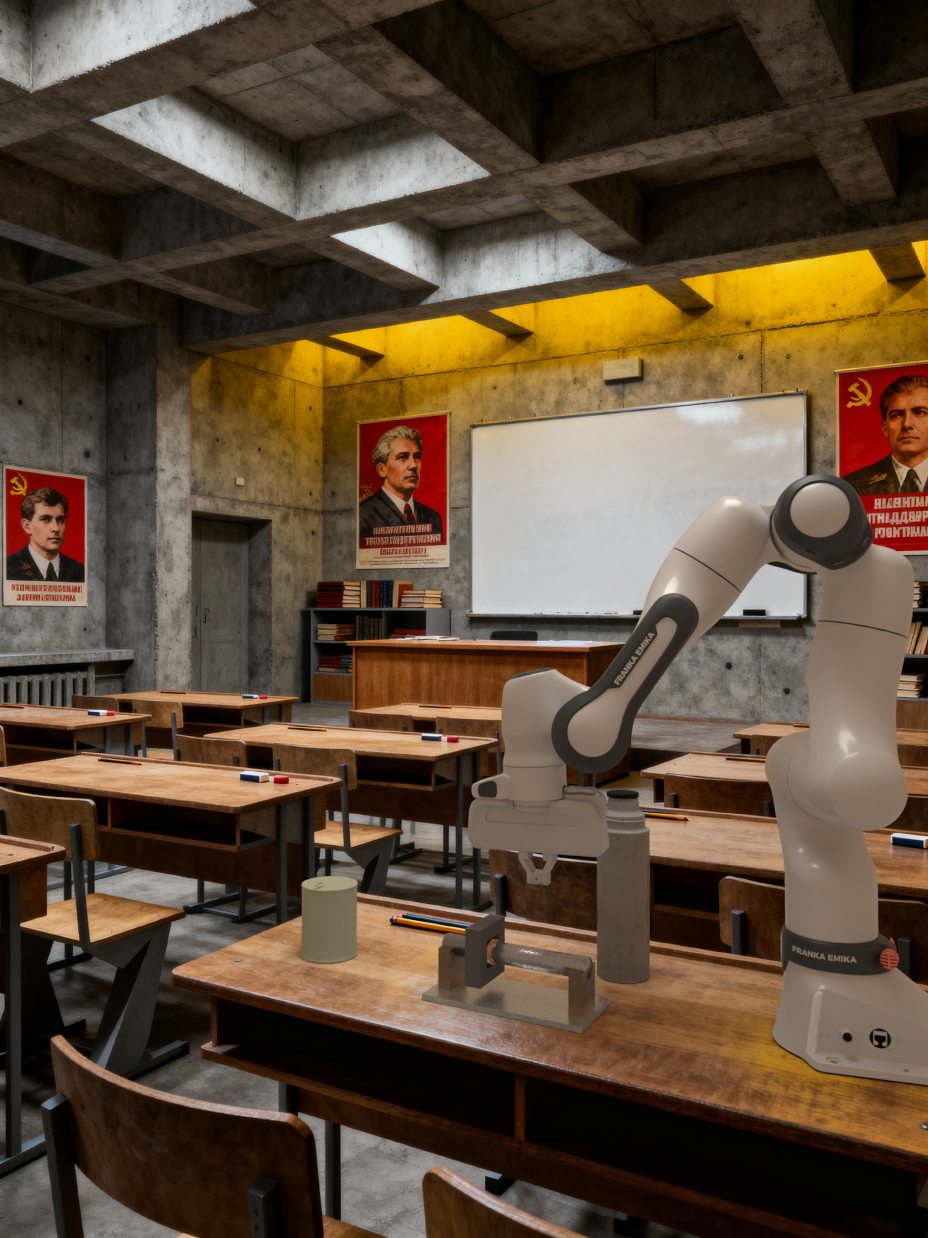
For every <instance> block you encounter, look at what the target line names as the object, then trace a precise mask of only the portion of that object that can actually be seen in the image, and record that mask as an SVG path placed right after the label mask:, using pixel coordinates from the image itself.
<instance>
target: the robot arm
mask: <svg viewBox="0 0 928 1238" xmlns="http://www.w3.org/2000/svg"><path fill="white" fill-rule="evenodd" d="M874 539H875V534H874V530H873V528H872V525H871V523H870V520H869V518H868V514H867V512H866V508H865V506H864V503H863V501H862V499H861V497H860V495H859V494H858V492H857V491H856V490H855V488H854V487H853V486H852V484H850V483H849V482H847V481H846V480H845V479H843V478H841V477H838V476H836V475H833V474H830V473H828V474H827V473H813V474H810V475H805V476H803V477H800V478H799V479H796V480H795V481H793V482H792V483H790V484H789V485H788V486H787V487H786V488H785V489H784V490H783V491H782V492H781V494H780V495H779V497H777V500H776V503H775V504H772V505H762V504H758V503H757V502H755V501H754V500H752V499H751V498H750V499H749V498H747V497H745V496H741V495H733V494H728V495H722V496H721V497H719V498H717V499H715V500H714V501H712V503H711V504H710V505H709V506H708V507H706V509H704V511H702V512H701V513H700V515H698V516H697V518H696V519H694V521H693V522H692V523H691V524H690V526H689V527H687V529H686V530H685V531H684V532H683V534H682V535H681V536H680V537H679V539H678V540H677V541H676V543H675V544H674V546H673V548H671V549H670V551H669V553H668V554H667V556H666V557H665V558H664V560H663V562H662V563H661V565H660V567H659V569H658V571H657V572H656V574H655V576H654V578H653V581H652V583H651V585H650V587H649V589H648V592H647V595H646V598H645V602H644V605H643V607H642V608H643V609H642V611H641V614H640V617H639V620H638V622H637V623H636V626H635V628H634V629H633V631H632V633H631V634H630V636H629V638H628V639H627V640H626V642H625V643H624V645H623V646H622V647H621V648H620V650H619V652H618V653H617V654H616V656H615V657H614V658H613V660H612V662H611V663H610V664H609V666H608V667H607V668H606V670H605V671H604V672H603V674H601V676H600V677H599V678H598V680H596V682H595V683H594V684H593V685H592V686H587V685H586V684H585V685H584V684H582V683H579V682H577V681H575V680H573V679H571V678H569V677H568V676H565V675H564V674H562V673H561V672H559V670H557V669H556V668H552V667H544V668H538V669H534V670H529V671H523V672H520V673H516V674H514V675H513V676H511V677H509V678H508V680H507V681H506V682H505V683H504V686H503V690H502V695H501V696H502V697H501V708H500V709H501V711H500V712H501V713H500V714H501V715H500V716H501V717H500V718H501V735H502V739H503V741H504V742H503V743H504V755H503V758H502V759H503V760H502V772H499V773H496V774H493V775H492V776H490V777H486V778H484V779H481V780H479V781H477V782H475V783H473V784H472V786H471V795H472V797H473V798H475V799H474V800H472V802H471V804H470V806H469V809H468V822H467V825H468V826H467V827H468V828H467V831H468V832H467V833H468V834H467V835H468V836H467V837H468V841H469V843H470V844H471V845H472V847H473V848H474V849H482V850H483V849H485V850H497V851H508V852H509V851H511V852H517V853H518V860H519V862H520V864H521V866H522V868H523V869H524V870H525V872H526V883H527V884H528V885H538V886H549V885H550V884H551V883H552V880H551V878H552V876H551V875H552V874H551V873H552V872H551V871H552V870H553V868H554V866H555V864H556V863H557V860H558V857H559V856H558V855H561V856H562V855H563V856H577V857H579V856H580V857H588V858H589V857H590V858H597V857H598V856H600V855H602V854H603V853H605V852H606V850H607V849H608V847H609V835H608V827H607V822H606V815H607V800H608V799H607V796H605V794H604V793H603V792H602V791H600V790H598V789H597V788H596V787H594V786H578V785H567V766H568V767H569V768H571V769H573V770H575V771H577V772H580V773H583V774H601V773H604V772H607V771H610V770H611V769H613V768H615V767H616V766H617V765H618V764H619V763H620V762H621V761H622V760H623V759H624V758H625V755H626V754H627V752H628V750H629V747H630V744H631V739H632V733H633V727H634V723H635V719H636V718H637V714H638V713H639V711H640V710H641V707H642V706H643V704H644V703H645V701H646V700H647V699H648V697H649V695H651V693H652V691H653V690H654V689H655V687H656V686H657V684H658V683H659V681H660V680H661V679H662V677H663V676H664V674H665V673H666V671H667V670H668V669H669V667H670V666H671V664H672V663H673V662H674V661H675V660H676V658H677V657H679V655H680V654H681V653H682V652H683V651H684V650H685V649H686V648H687V647H689V646H690V645H692V643H694V642H695V641H696V640H698V639H700V637H702V636H703V635H704V634H706V633H707V632H708V631H709V630H710V629H712V627H713V626H715V624H717V622H719V620H721V619H722V618H723V617H724V616H725V614H726V613H727V612H728V611H729V610H730V609H731V608H732V606H733V605H734V604H735V603H736V602H737V600H738V598H739V597H740V596H741V594H742V593H743V591H744V590H745V589H746V587H747V586H748V585H749V583H750V582H751V580H752V579H753V578H754V576H755V575H756V574H757V573H758V571H760V570H761V568H763V567H764V566H765V565H769V566H772V567H775V568H779V569H783V570H786V571H790V572H792V573H796V574H801V575H809V576H811V575H812V576H813V575H816V576H817V575H818V576H819V579H820V581H821V586H822V597H821V603H820V608H819V613H818V616H817V620H816V625H815V629H814V630H815V631H814V634H813V639H812V642H811V647H810V652H809V656H808V661H807V667H806V671H805V676H804V684H805V689H806V691H807V694H808V695H807V696H808V703H809V708H808V709H809V730H801V731H797V732H792V733H791V734H787V735H785V736H783V737H780V738H779V739H777V740H776V741H775V742H774V743H773V744H772V745H771V747H770V748H769V750H768V752H767V754H766V757H765V761H764V772H765V776H766V780H767V782H768V785H769V787H770V789H771V794H772V799H773V805H774V811H775V816H776V823H777V829H778V833H779V838H780V843H781V850H782V857H783V867H784V910H785V911H784V919H785V922H784V923H783V925H782V926H781V932H780V962H781V969H782V970H783V976H782V986H781V993H780V999H779V1006H778V1010H777V1015H776V1017H775V1022H774V1026H773V1028H772V1032H771V1034H772V1037H773V1039H774V1040H775V1041H776V1043H777V1044H778V1045H779V1046H780V1047H782V1048H783V1049H785V1050H787V1051H788V1052H791V1053H793V1054H794V1055H796V1056H798V1057H800V1058H802V1059H803V1060H805V1062H806V1063H808V1065H810V1066H811V1067H812V1068H813V1069H815V1070H817V1071H820V1072H824V1073H831V1074H840V1075H847V1076H855V1077H863V1078H871V1079H877V1080H878V1079H879V1080H885V1081H886V1080H887V1081H894V1082H901V1083H907V1084H908V1083H909V1084H910V1083H911V1084H915V1085H926V1086H928V992H927V991H926V990H924V989H923V988H921V987H920V986H919V985H918V984H917V983H915V981H913V980H912V979H911V978H910V977H908V976H907V975H906V974H905V973H903V972H902V970H900V969H899V968H898V965H899V962H900V961H899V960H900V957H899V954H898V952H897V945H896V944H895V941H894V939H893V938H892V937H889V939H888V938H887V937H885V936H884V935H883V934H881V933H880V932H879V884H878V883H879V877H878V876H879V875H878V871H877V867H876V865H875V863H874V862H873V860H872V857H871V856H870V852H869V849H868V846H867V842H866V840H865V834H864V831H865V832H866V831H867V832H868V831H877V830H880V829H881V830H882V829H883V828H886V827H887V826H889V825H891V824H892V823H894V822H895V821H896V820H897V819H898V818H899V817H900V815H901V814H902V812H903V811H904V810H905V807H906V805H907V800H908V797H909V787H908V785H909V784H908V780H907V777H906V775H905V773H904V770H903V768H902V766H901V764H900V759H899V755H898V754H899V753H898V739H897V738H898V735H897V734H898V733H897V702H898V701H897V699H898V690H899V687H900V680H901V677H902V670H903V666H904V662H905V655H906V651H907V648H908V640H909V637H910V631H911V628H912V627H911V626H912V620H913V613H914V612H913V611H914V603H915V602H914V600H915V599H914V598H915V573H914V572H915V571H914V569H913V568H914V567H913V565H912V563H911V562H910V560H909V559H908V558H907V557H906V556H905V555H904V554H902V553H900V552H899V551H896V550H895V549H893V548H890V547H886V546H883V545H878V544H874V543H873V542H874ZM534 853H536V854H537V853H538V854H541V855H542V861H543V862H545V865H544V866H543V868H542V869H540V868H539V869H538V868H536V867H535V864H534V862H533V860H532V857H533V856H534Z"/></svg>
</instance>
